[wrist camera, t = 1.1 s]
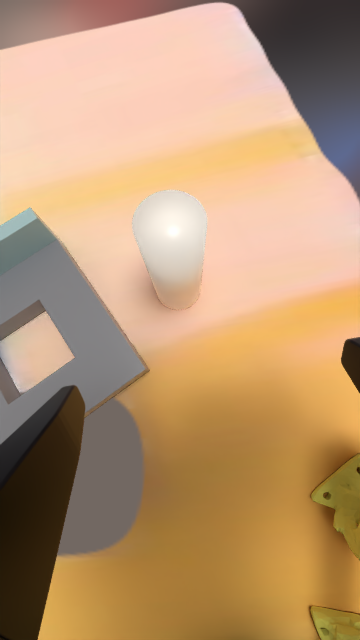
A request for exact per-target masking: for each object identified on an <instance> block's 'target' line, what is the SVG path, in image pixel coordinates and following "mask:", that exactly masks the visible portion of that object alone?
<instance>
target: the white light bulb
mask: <svg viewBox="0 0 360 640" xmlns="http://www.w3.org/2000/svg"><path fill="white" fill-rule="evenodd" d="M132 229H133V233H134V236H135V239H136V241H137V244H138V247H139V249H140V252H141V254H142V257H143V260H144V262H145V265H146V267H147V270H148V273H149V275H150V278H151V280H152V283H153V286H154V288H155V291H156V293H157V296H158V298H159V300H160V302H161V303H162V304H163V305H164V306H166V307H168V308H170V309H174V310H183V309H186V308H189V307H190V306H192V305H193V304H194V303H195V302H196V301H197V299H198V297H199V295H200V290H201V280H202V270H203V261H204V251H205V241H206V231H207V215H206V212H205V209H204V208H203V206H202V204H201V203H200V202H199V201H198V200H197V199H196V198H195V197H193V196H192V195H190V194H188V193H185V192H182V191H178V190H164V191H160V192H156V193H154V194H152V195H150V196H148V197H147V198H146V199H144V200H143V201H142V202H141V203H140V204H139V206H138V207H137V209H136V210H135V213H134V215H133V220H132Z"/></svg>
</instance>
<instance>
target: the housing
mask: <svg viewBox="0 0 360 640" xmlns="http://www.w3.org/2000/svg"><path fill="white" fill-rule="evenodd" d="M45 310H46V311H47V313H48V314H49V316H50V318H51V319H52V321H53V323H54V324H55V326H56V327H57V329H58V331H59V332H60V334H61V335H62V337H63V339H64V340H65V342H66V344H67V345H68V347H69V348H70V350H71V352H72V353H73V355H74V356H75V358H74V359H73V360H71V361H70V362H68V363H67V364H66V365H64V366H63V367H61V368H60V369H58V370H57V371H56V372H54V373H53V374H51V375H50V376H48V377H47V378H46V379H44V380H43V381H41V382H40V383H38V384H37V385H36V386H34V387H33V388H31V389H30V390H28V391H27V392H26V393H24V394H23V395H20V394H19V392H18V390H17V388H16V386H15V384H14V382H13V381H12V379H11V377H10V375H9V373H8V371H7V370H6V368H5V366H4V364H3V362H2V360H1V358H0V444H1V443H2V442H3V441H5V440H6V439H7V438H8V437H9V436H10V435H11V434H12V433H13V432H14V431H15V430H16V429H18V428H19V427H20V426H21V425H22V424H23V423H24V422H25V421H26V420H27V419H28V418H29V417H31V416H32V415H33V414H34V413H35V412H36V411H37V410H38V409H39V408H40V407H41V406H42V405H44V404H45V403H46V402H47V401H48V400H49V399H50V398H51V397H52V396H53V395H54V394H55V393H56V392H58V391H59V390H60V389H61V388H62V387H64V386H70V385H76V386H77V387H78V389H79V391H80V393H81V395H82V398H83V400H84V402H85V416H84V418H85V417H87V416H88V415H89V414H91V413H92V412H93V411H95V410H96V409H97V408H99V407H100V406H102V405H103V404H104V403H106V402H107V401H108V400H110V399H111V398H112V397H114V396H115V395H117V394H118V393H119V392H121V391H122V390H123V389H125V388H126V387H127V386H129V385H130V384H132V383H133V382H134V381H136V380H137V379H138V378H140V377H141V376H142V375H144V374H145V373H147V372H148V371H149V368H148V367H147V365H146V364H145V362H144V361H143V360H142V358H141V357H140V355H139V354H138V352H137V351H136V349H135V348H134V346H133V345H132V343H131V342H130V341H129V339H128V338H127V336H126V335H125V333H124V332H123V330H122V329H121V327H120V326H119V325H118V323H117V322H116V320H115V319H114V317H113V316H112V314H111V313H110V311H109V310H108V309H107V307H106V306H105V304H104V303H103V301H102V300H101V298H100V297H99V295H98V294H97V293H96V291H95V290H94V288H93V287H92V285H91V284H90V282H89V281H88V279H87V278H86V277H85V275H84V274H83V272H82V271H81V269H80V268H79V266H78V265H77V263H76V262H75V260H74V259H73V258H72V256H71V255H70V253H69V252H68V250H67V249H66V247H65V246H64V244H63V243H62V242H61V240H60V239H59V238H58V237H57V236H56V235H55V234H54V233H53V232H52V231H51V229H50V228H49V227H48V226H47V225H46V224H45V223H44V222H43V221H42V220H41V219H40V217H39V216H38V215H37V214H36V213H35V212H34V211H33V210H32V209H31V208H28V209H27V210H25V211H23V212H22V213H20V214H18V215H17V216H15V217H14V218H12V219H10V220H9V221H7V222H5V223H4V224H2V225H1V226H0V340H2V339H3V338H5V337H6V336H8V335H9V334H11V333H12V332H14V331H15V330H17V329H18V328H20V327H21V326H23V325H24V324H26V323H27V322H29V321H30V320H32V319H33V318H35V317H36V316H38V315H39V314H41V313H42V312H44V311H45Z"/></svg>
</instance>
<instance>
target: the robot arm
mask: <svg viewBox="0 0 360 640" xmlns="http://www.w3.org/2000/svg"><path fill="white" fill-rule="evenodd" d="M341 362H342V365H343V367H344V369H345V370H346V372H347V374H348V375H349V377H350V378H351V380H352V382H353V383H354V385H355V387H356V388H357V390H358V391H359V393H360V337H357V338H351V339H347V340H346V341H345V343H344V347H343V352H342V357H341ZM84 416H85V402H84V400H83V398H82V395H81V393H80V391H79V389H78V387H77V386H76V385H70V386H64V387H62V388H61V389H60V390H59V391H58V392H56V393H55V394H54V395H53V396H52V397H51V398H50V399H49V400H48V401H47V402H46V403H45V404H44V405H42V406H41V407H40V408H39V409H38V410H37V411H36V412H35V413H34V414H33V415H32V416H31V417H29V418H28V419H27V420H26V421H25V422H24V423H23V424H22V425H21V426H20V427H19V428H18V429H16V430H15V431H14V432H13V433H12V434H11V435H10V436H9V437H8V438H7V439H6V440H5V441H3V442H2V443H1V444H0V640H38V635H39V631H40V627H41V622H42V618H43V614H44V609H45V605H46V600H47V596H48V592H49V587H50V583H51V579H52V574H53V570H54V566H55V561H56V557H57V552H58V548H59V544H60V539H61V535H62V530H63V526H64V522H65V517H66V513H67V508H68V504H69V500H70V495H71V491H72V487H73V483H74V478H75V474H76V469H77V465H78V460H79V455H80V450H81V442H82V433H83V425H84Z"/></svg>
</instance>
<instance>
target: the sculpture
mask: <svg viewBox="0 0 360 640" xmlns="http://www.w3.org/2000/svg"><path fill="white" fill-rule="evenodd" d="M357 467H359V471H360V454H357V455H356V456H354V457H353V458H351V459H350V460H349V461H348V462H346V463H345V464H344V465H343V466H341V467H340V468H339V469H338V470H337V471H336V472H334V473H333V474H332V475H331V476H330V477H329V478H327V479H326V480H325V481H324V482H323V483H321V484H320V485H319V486H318V487H317V488H316V489H315V490H314V492H313V493H312V494H311V498H312V499H313V501H315V502H317V503H320V504H322V505H325V506H328V507H331V508H334V509H335V510H336V511H335V514H334V523H333V527H334V528H335V529H336V531H337V532H339V531H340V532H341V533H342V534H343V535H344V537H345V539H346V541H347V543H348V545H349V547H350V549H351V551H352V552H353V553H354V554H355V556H356V557H357V558H358V559H359V560H360V472H359V473H358V472H357V471H356V470H357ZM325 492H328V495H327V497H324V496H323V494H324V493H325ZM356 524H358V527H357V525H356ZM310 612H311V615H312V618H313V621H314V624H315V627H316V630H317V632H318V634H319V636H320V639H321V640H360V615H358V614H354V613H349V612H343V611H338V610H333V609H328V608H323V607H317V606H312V607H311V610H310Z"/></svg>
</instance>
